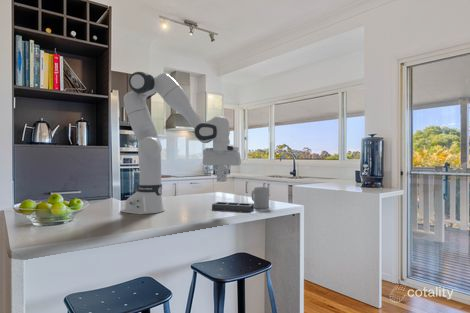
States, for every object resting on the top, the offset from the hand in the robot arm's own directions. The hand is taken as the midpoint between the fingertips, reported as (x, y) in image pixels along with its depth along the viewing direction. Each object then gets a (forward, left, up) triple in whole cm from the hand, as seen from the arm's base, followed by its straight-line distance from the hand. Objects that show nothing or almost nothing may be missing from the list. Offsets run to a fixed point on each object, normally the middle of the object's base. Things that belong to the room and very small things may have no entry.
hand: (221, 174), depth 155 cm
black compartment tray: (+4, +8, -20) cm, 22 cm away
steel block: (0, 0, -4) cm, 4 cm away
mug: (+16, +20, -20) cm, 33 cm away
